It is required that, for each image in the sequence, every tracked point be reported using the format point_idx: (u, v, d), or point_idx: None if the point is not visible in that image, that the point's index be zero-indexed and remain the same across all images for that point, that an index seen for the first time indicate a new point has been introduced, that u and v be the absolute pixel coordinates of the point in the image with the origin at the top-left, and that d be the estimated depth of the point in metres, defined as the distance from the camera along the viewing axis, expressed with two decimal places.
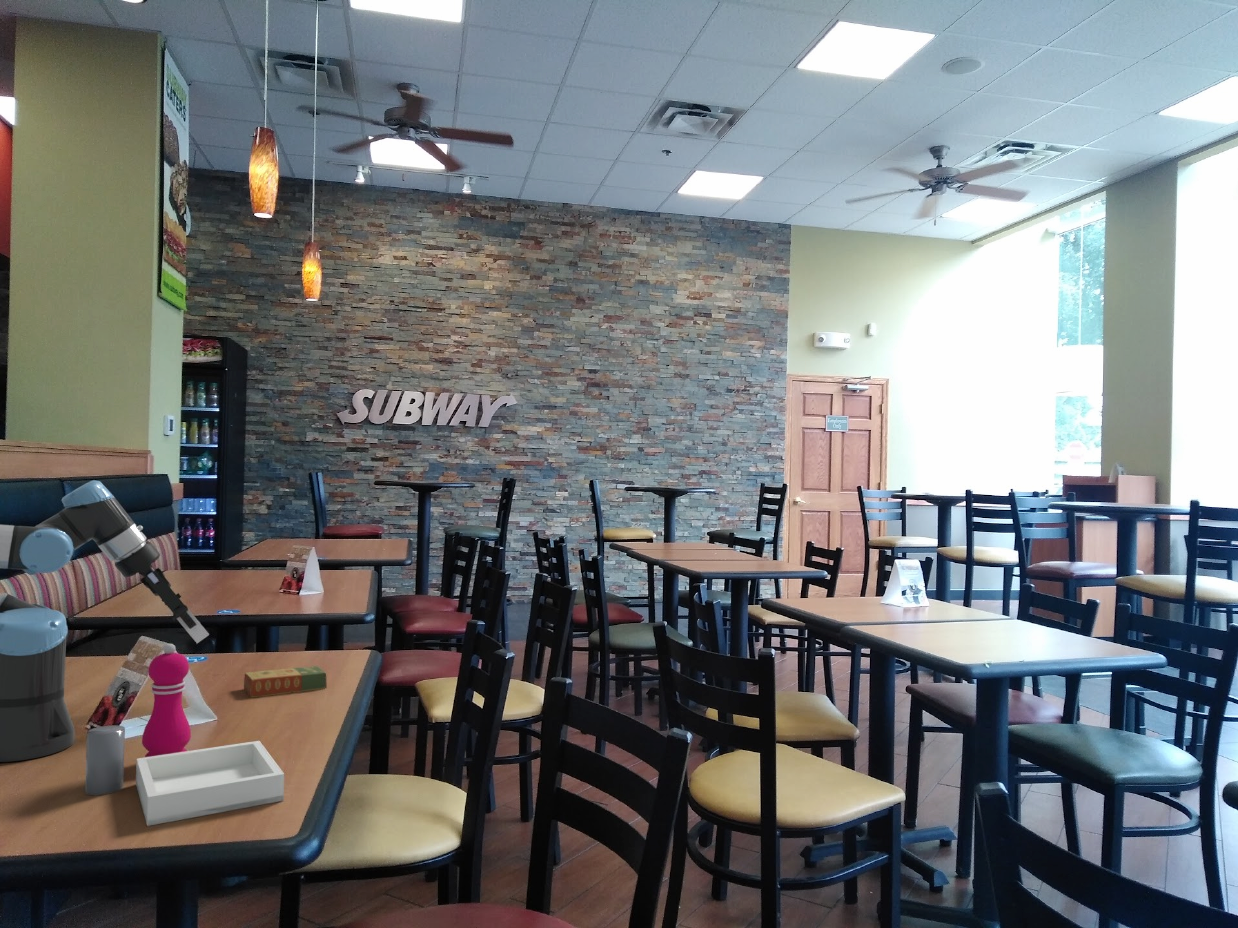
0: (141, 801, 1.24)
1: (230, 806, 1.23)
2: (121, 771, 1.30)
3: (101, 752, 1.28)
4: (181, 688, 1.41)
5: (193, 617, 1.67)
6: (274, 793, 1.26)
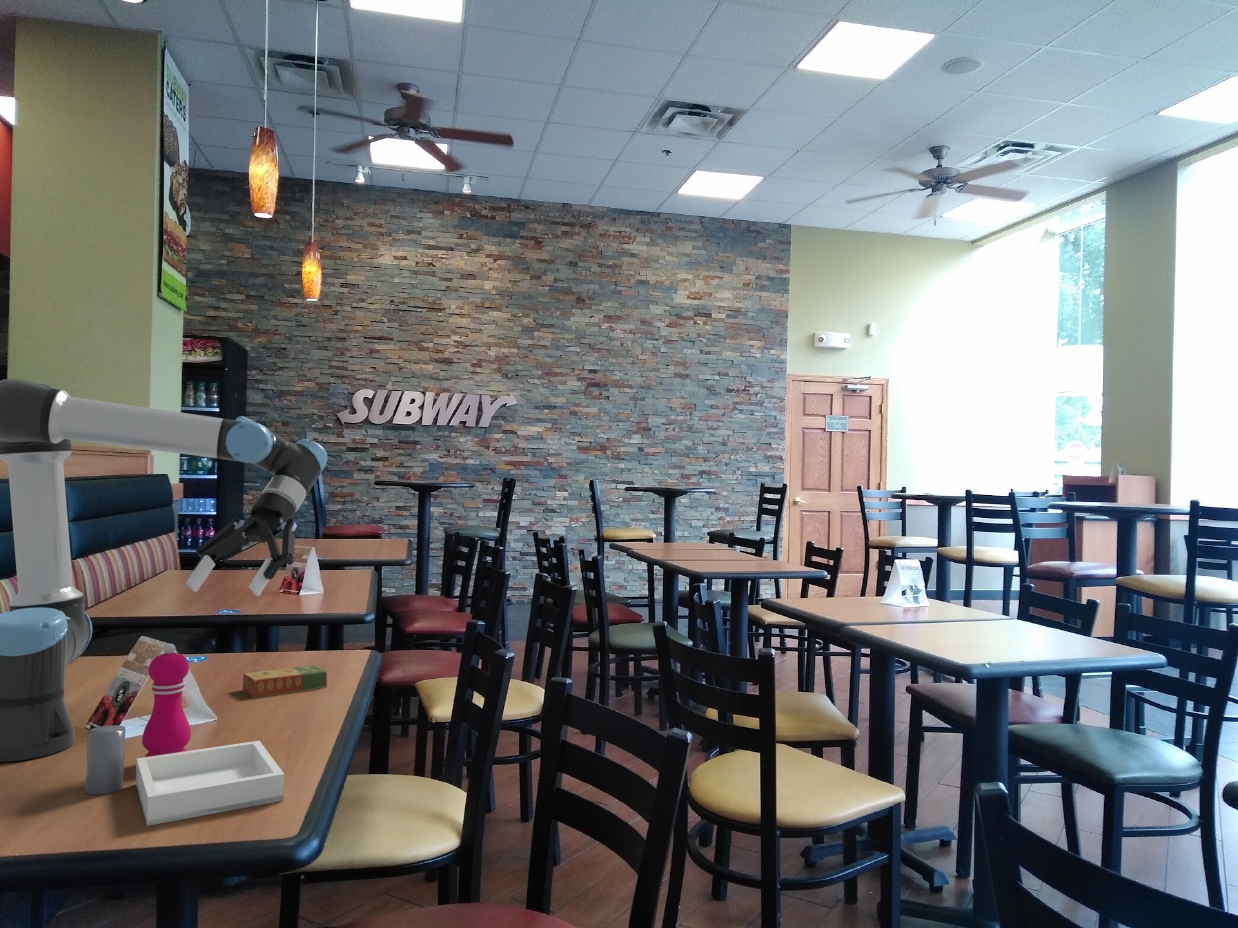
0: (141, 801, 1.24)
1: (230, 806, 1.23)
2: (121, 771, 1.30)
3: (102, 752, 1.28)
4: (181, 688, 1.41)
5: None
6: (274, 793, 1.26)
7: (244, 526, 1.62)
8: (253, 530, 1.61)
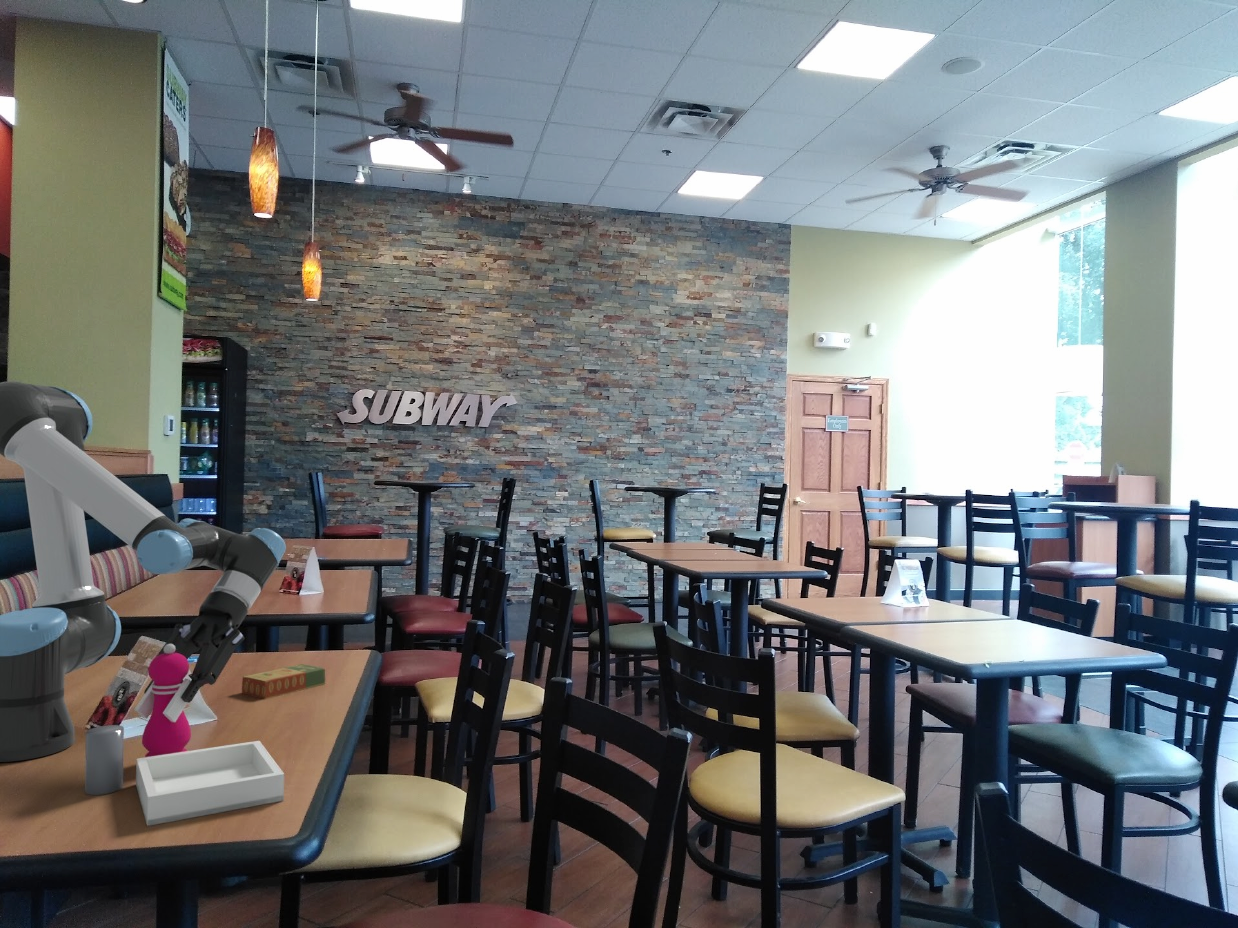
0: (141, 801, 1.24)
1: (230, 806, 1.23)
2: (120, 771, 1.30)
3: (99, 753, 1.27)
4: None
5: None
6: (274, 793, 1.26)
7: (190, 629, 1.49)
8: (199, 634, 1.49)
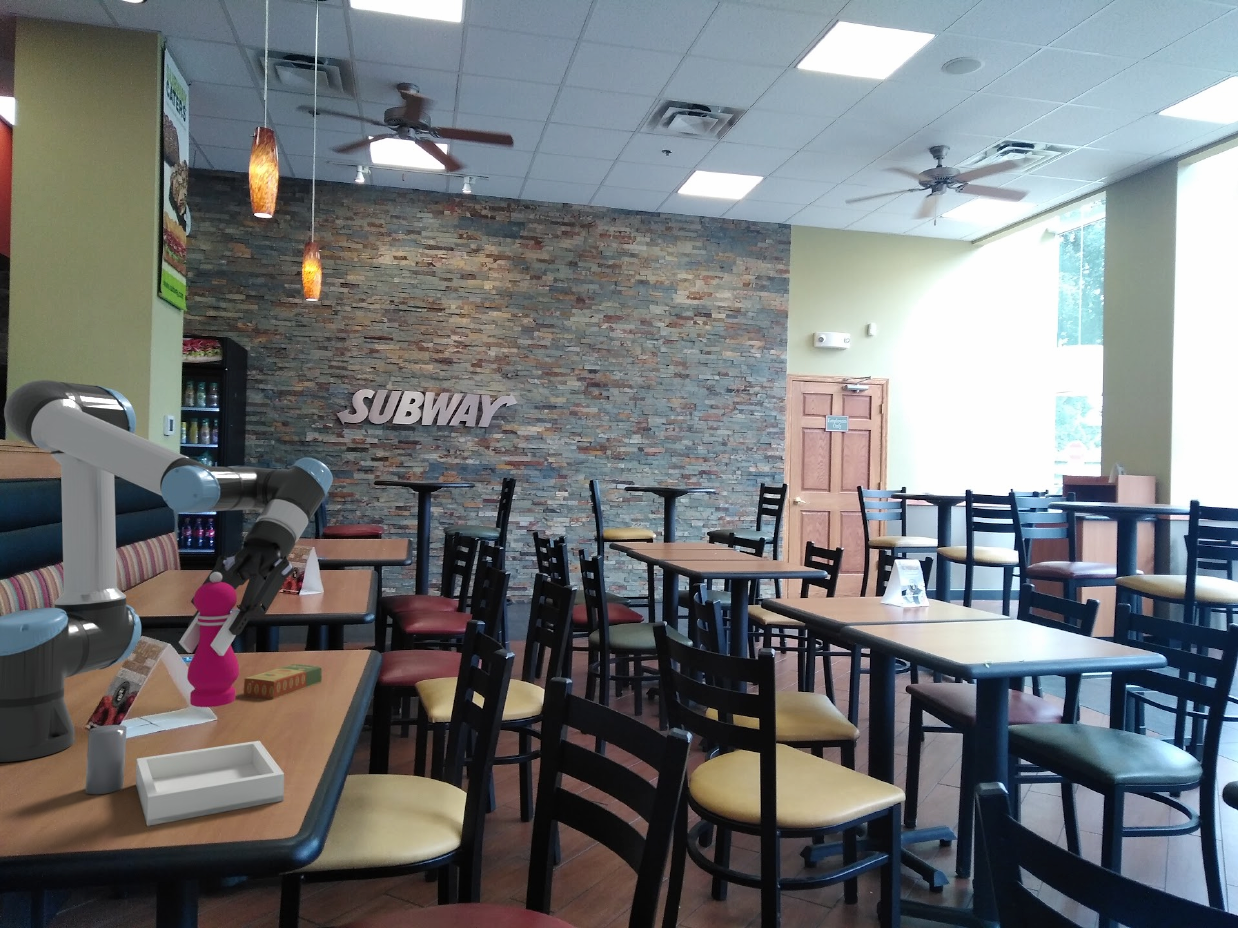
0: (141, 801, 1.24)
1: (230, 806, 1.23)
2: (120, 771, 1.30)
3: (101, 752, 1.28)
4: None
5: None
6: (274, 793, 1.26)
7: (235, 560, 1.38)
8: (245, 565, 1.37)
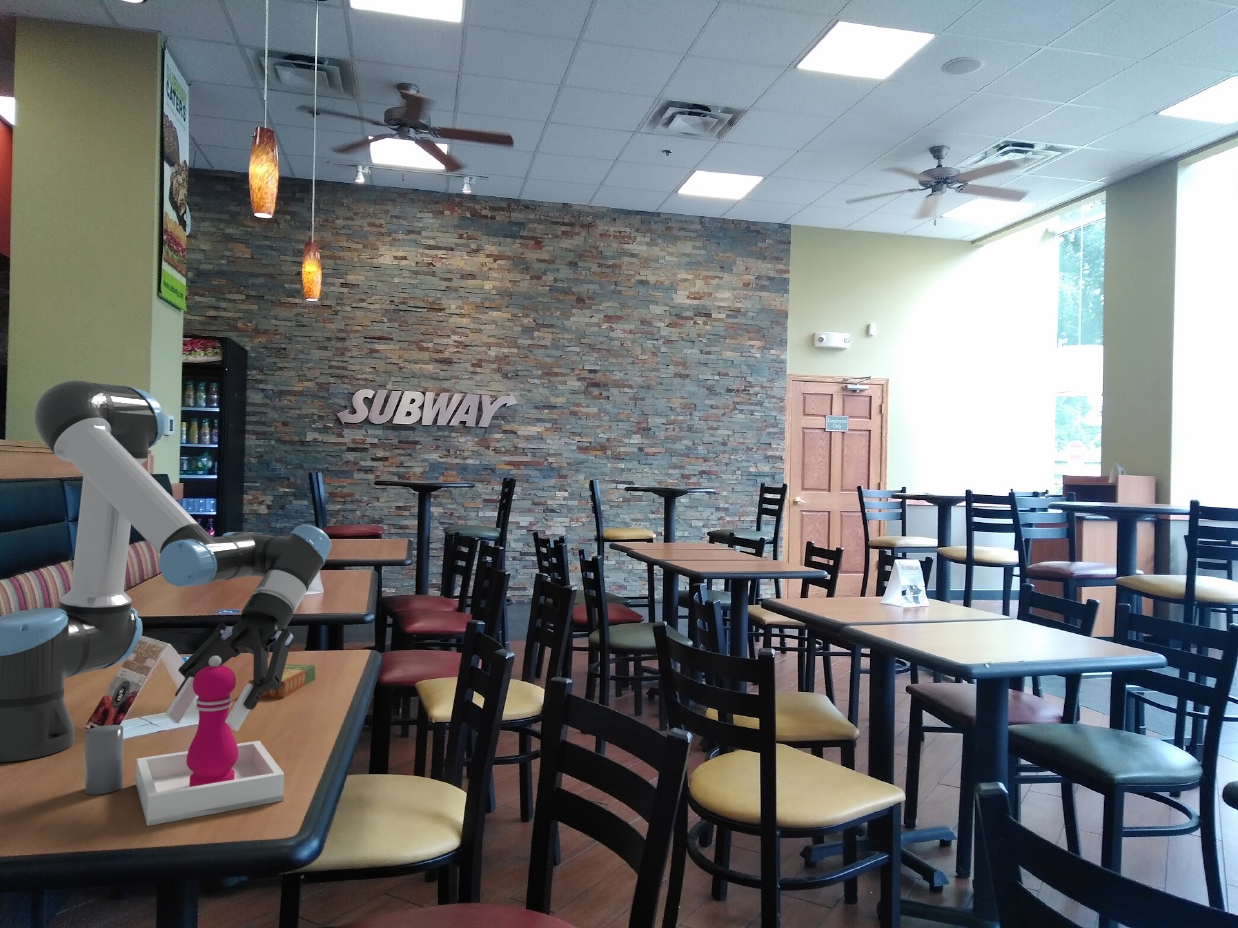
0: (141, 801, 1.24)
1: (230, 806, 1.23)
2: (118, 771, 1.29)
3: (97, 752, 1.27)
4: (228, 703, 1.30)
5: None
6: (274, 793, 1.26)
7: (232, 634, 1.37)
8: (242, 639, 1.37)
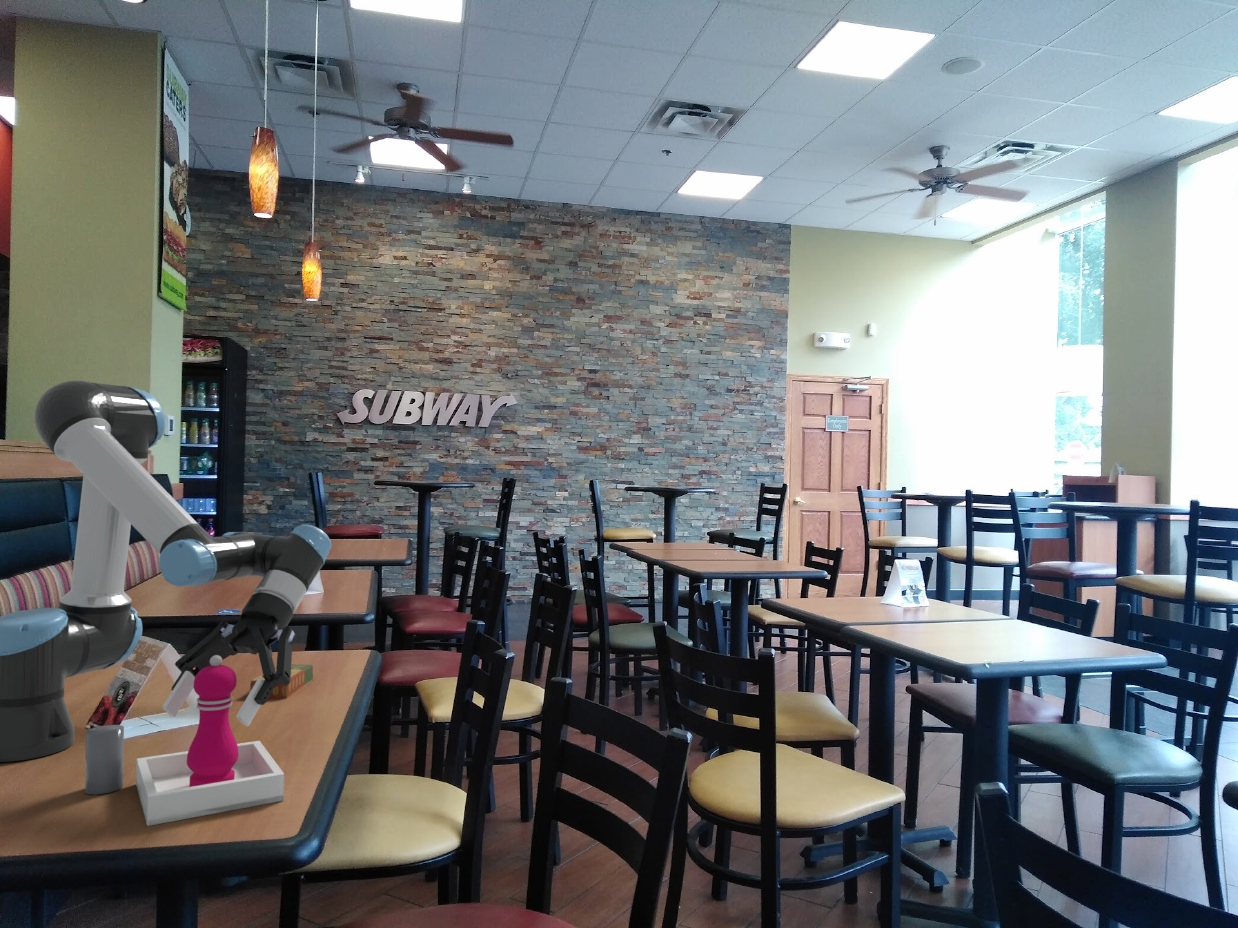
0: (141, 801, 1.24)
1: (230, 806, 1.23)
2: (118, 771, 1.29)
3: (97, 752, 1.27)
4: (228, 703, 1.30)
5: None
6: (274, 793, 1.26)
7: (232, 634, 1.37)
8: (242, 639, 1.37)
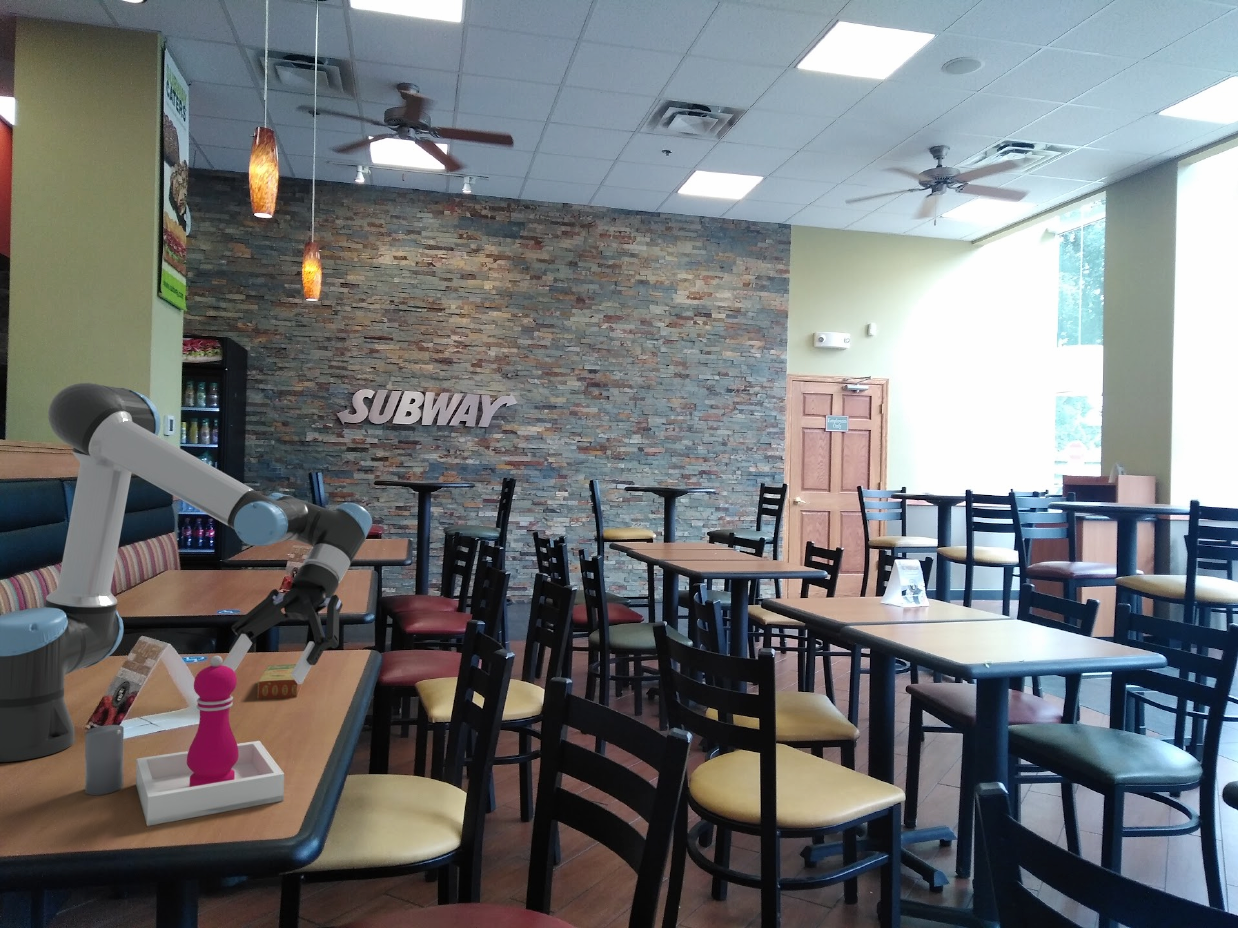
0: (141, 801, 1.24)
1: (230, 806, 1.23)
2: (117, 772, 1.29)
3: (95, 753, 1.27)
4: (228, 703, 1.30)
5: None
6: (274, 793, 1.26)
7: (284, 601, 1.49)
8: (293, 606, 1.48)
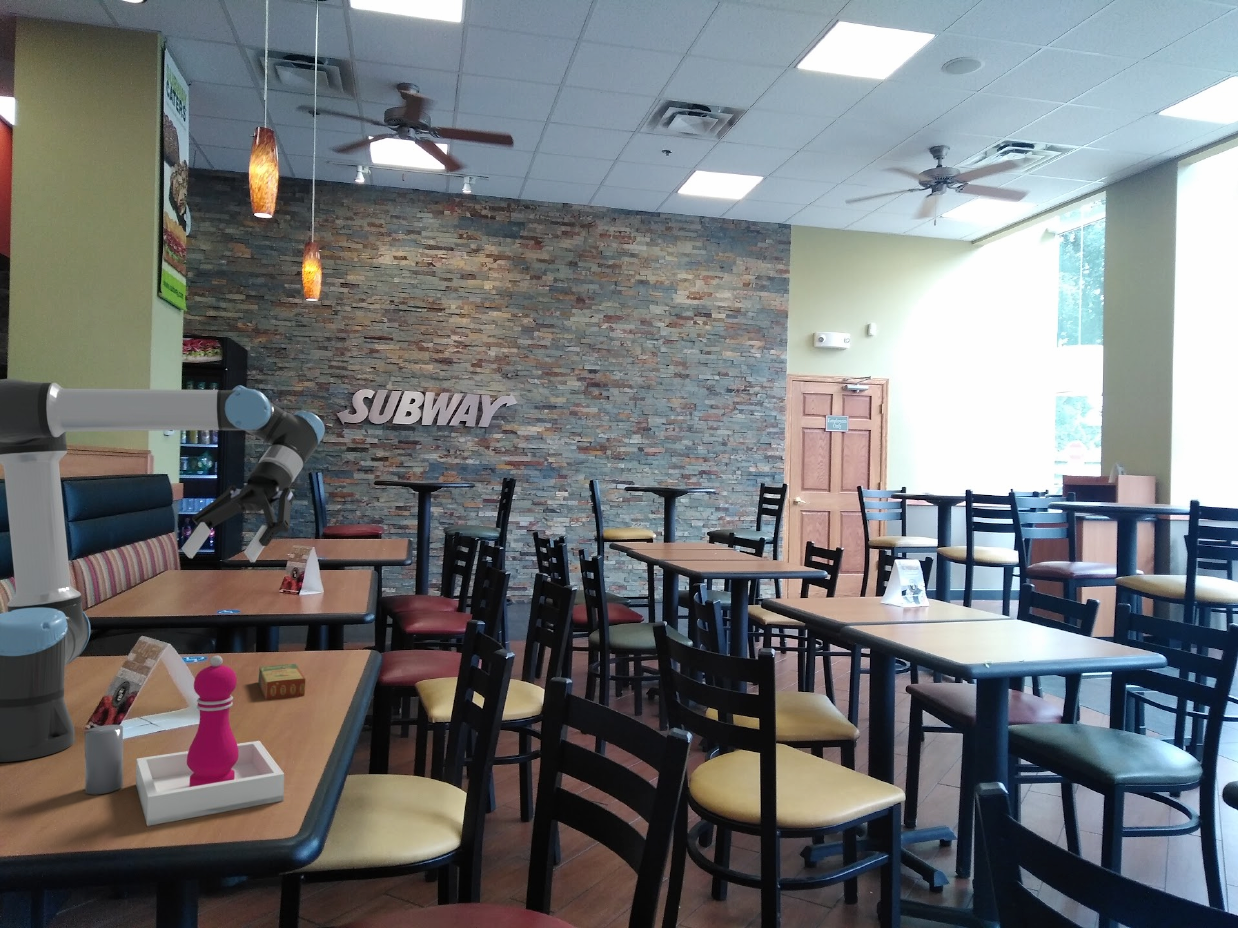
0: (141, 801, 1.24)
1: (230, 806, 1.23)
2: (115, 772, 1.29)
3: (93, 752, 1.27)
4: (228, 703, 1.30)
5: None
6: (274, 793, 1.26)
7: (240, 494, 1.62)
8: (249, 498, 1.62)
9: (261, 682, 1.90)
